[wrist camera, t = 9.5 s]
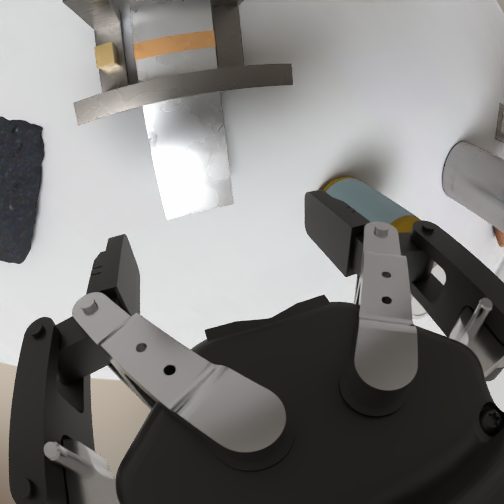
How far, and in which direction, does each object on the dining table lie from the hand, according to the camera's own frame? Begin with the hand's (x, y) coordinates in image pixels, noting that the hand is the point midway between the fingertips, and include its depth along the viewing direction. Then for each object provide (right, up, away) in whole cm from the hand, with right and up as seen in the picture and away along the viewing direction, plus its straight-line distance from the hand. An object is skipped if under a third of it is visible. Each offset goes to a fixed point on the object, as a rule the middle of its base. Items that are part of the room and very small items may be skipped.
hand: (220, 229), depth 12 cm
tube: (-5, +13, +6) cm, 15 cm away
